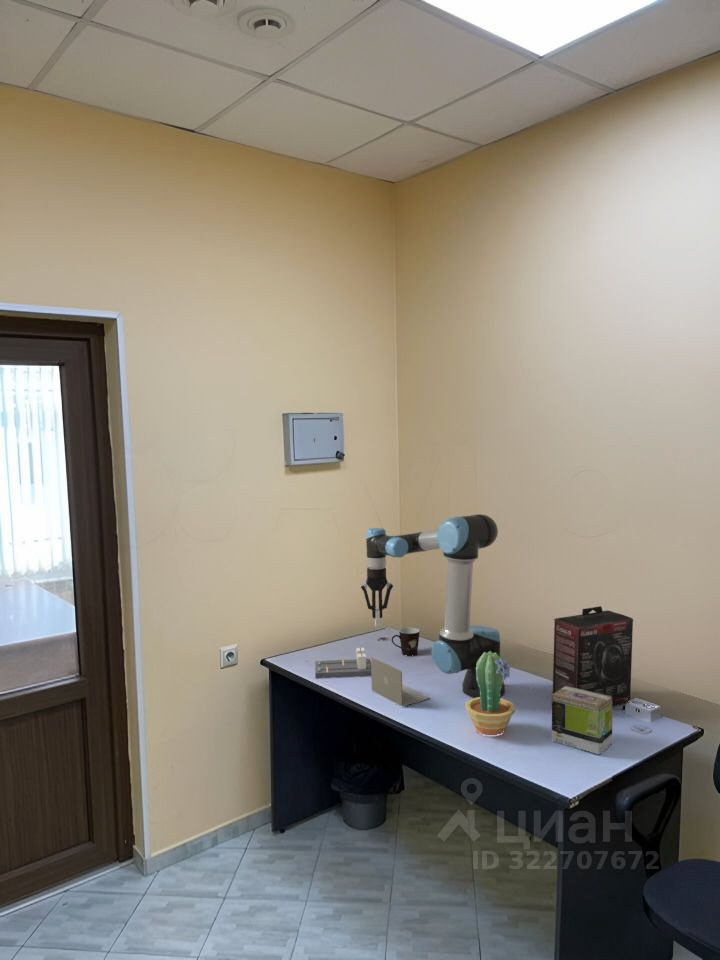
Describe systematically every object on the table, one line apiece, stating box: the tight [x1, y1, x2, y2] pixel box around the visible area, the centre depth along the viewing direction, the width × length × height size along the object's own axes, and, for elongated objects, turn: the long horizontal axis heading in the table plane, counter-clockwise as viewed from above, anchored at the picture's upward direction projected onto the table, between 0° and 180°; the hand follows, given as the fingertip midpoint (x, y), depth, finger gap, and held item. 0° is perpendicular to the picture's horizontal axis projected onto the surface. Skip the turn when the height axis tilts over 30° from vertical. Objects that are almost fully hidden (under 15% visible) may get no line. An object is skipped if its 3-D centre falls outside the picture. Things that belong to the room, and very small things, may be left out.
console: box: [314, 658, 372, 679], centre depth 273 cm, size 14×22×2 cm, turn 94°
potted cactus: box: [464, 651, 516, 735], centre depth 216 cm, size 15×15×25 cm
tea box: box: [551, 686, 613, 755], centre depth 208 cm, size 15×10×15 cm
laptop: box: [370, 657, 430, 708], centre depth 247 cm, size 18×12×13 cm
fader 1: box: [355, 647, 366, 664], centre depth 277 cm, size 4×3×5 cm
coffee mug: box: [391, 627, 421, 657], centre depth 292 cm, size 12×9×10 cm
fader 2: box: [358, 653, 367, 670], centre depth 270 cm, size 4×3×5 cm
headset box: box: [552, 605, 634, 706], centre depth 236 cm, size 24×13×33 cm, turn 115°
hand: (377, 625), depth 276 cm, fingers closed
